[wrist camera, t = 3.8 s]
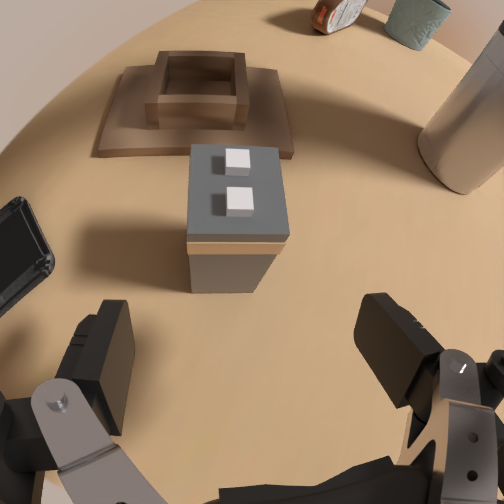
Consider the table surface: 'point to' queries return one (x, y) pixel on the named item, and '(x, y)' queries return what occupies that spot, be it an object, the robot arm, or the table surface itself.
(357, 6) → the tin
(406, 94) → the table surface
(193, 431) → the table surface
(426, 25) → the teal embossed cup
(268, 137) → the dock
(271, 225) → the cell
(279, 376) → the table surface
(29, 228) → the phone
